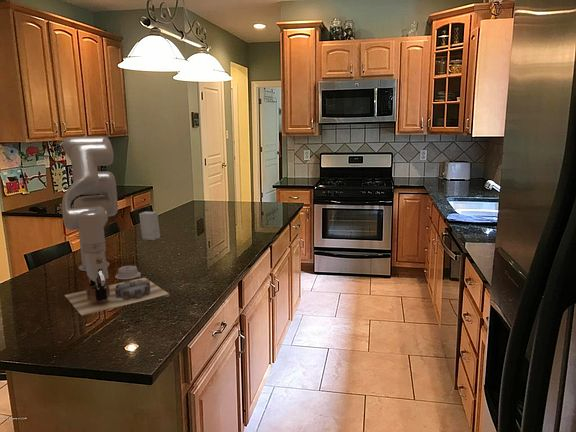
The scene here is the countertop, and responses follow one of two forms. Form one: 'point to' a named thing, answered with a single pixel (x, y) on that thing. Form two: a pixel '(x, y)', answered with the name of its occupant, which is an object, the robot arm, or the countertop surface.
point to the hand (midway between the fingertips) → (98, 296)
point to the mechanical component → (128, 272)
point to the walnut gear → (92, 292)
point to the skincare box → (149, 225)
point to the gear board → (117, 296)
